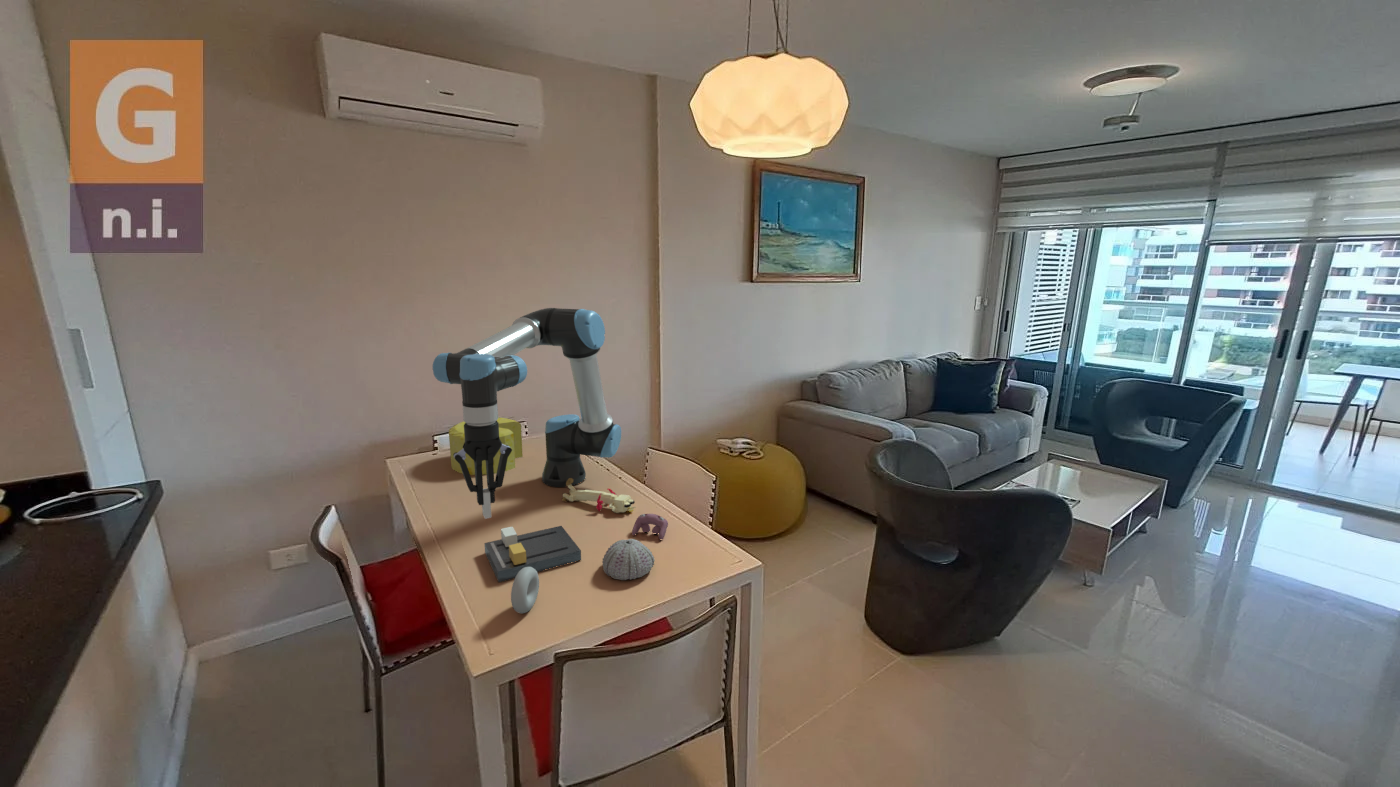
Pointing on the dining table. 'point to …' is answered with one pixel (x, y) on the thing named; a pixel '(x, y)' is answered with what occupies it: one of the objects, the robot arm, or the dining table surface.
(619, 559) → the sea urchin shell
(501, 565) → the fader console
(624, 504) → the cream elongated figure
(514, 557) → the amber block
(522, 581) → the donut
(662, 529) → the purple arched piece
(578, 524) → the dining table surface
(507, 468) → the cheese
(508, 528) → the block
